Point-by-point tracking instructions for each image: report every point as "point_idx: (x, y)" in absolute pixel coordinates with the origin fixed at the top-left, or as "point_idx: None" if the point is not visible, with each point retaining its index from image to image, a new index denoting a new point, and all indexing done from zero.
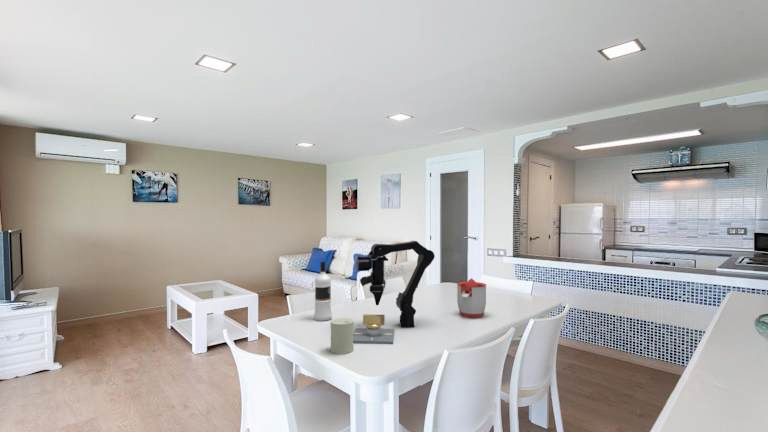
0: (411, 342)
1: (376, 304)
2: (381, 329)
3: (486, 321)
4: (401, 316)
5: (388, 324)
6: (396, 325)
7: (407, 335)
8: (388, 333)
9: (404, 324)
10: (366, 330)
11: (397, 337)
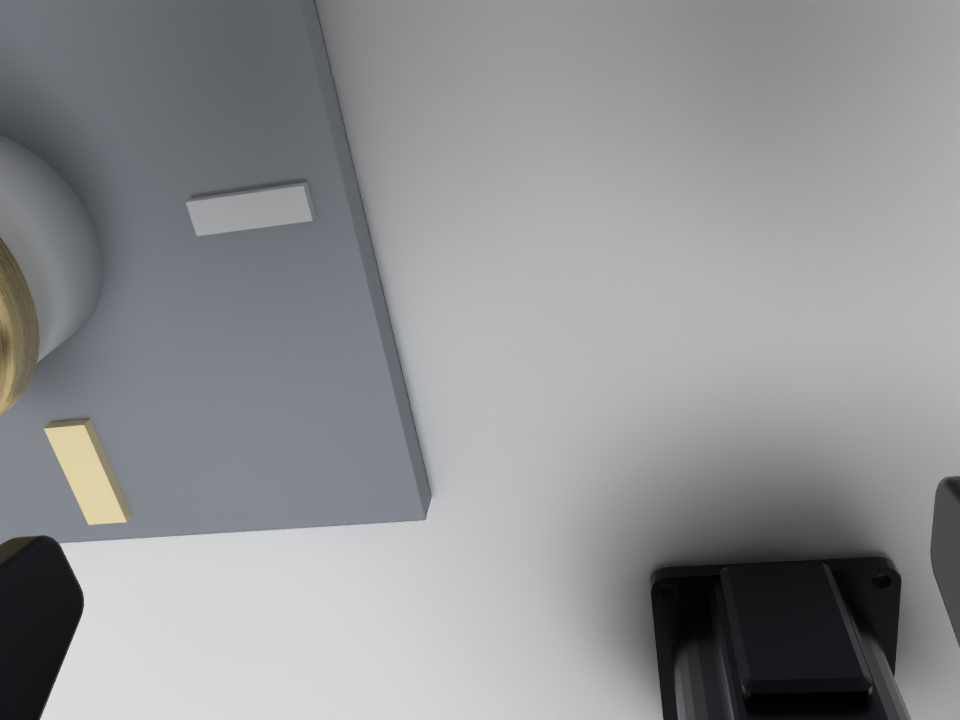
0: (52, 702)
1: (1, 568)
2: (317, 324)
3: None
4: (732, 714)
5: (824, 353)
6: (764, 493)
7: (283, 659)
8: (152, 463)
9: (684, 642)
10: (148, 42)
11: (152, 559)
